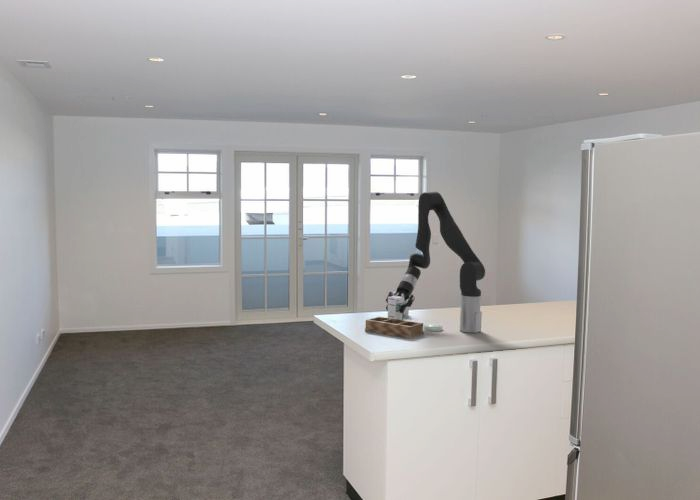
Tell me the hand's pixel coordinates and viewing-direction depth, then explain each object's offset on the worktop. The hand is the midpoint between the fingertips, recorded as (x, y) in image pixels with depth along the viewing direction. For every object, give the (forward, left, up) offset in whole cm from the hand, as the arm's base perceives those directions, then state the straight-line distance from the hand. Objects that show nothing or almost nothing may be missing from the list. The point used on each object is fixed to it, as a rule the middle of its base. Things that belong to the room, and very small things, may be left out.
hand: (394, 311), depth 328 cm
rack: (-8, +12, -7) cm, 17 cm away
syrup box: (0, -2, -8) cm, 8 cm away
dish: (-18, -7, -8) cm, 21 cm away
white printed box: (+15, -31, -8) cm, 35 cm away
